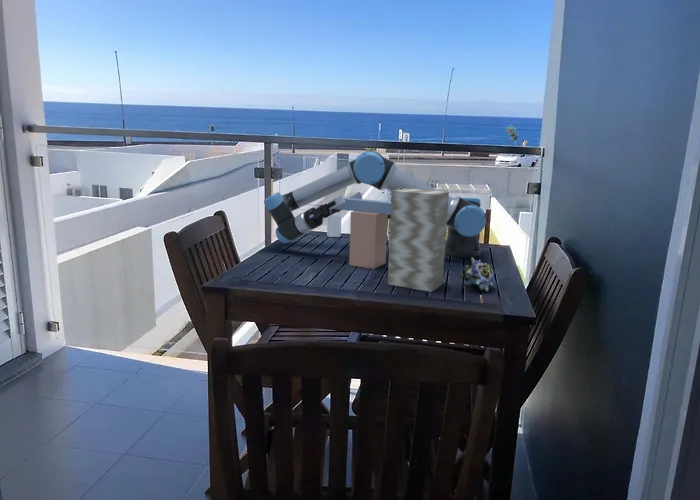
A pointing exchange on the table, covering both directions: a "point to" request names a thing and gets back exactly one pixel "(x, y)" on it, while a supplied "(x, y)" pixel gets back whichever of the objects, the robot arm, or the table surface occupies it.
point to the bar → (365, 206)
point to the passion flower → (479, 274)
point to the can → (334, 225)
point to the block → (368, 239)
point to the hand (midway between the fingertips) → (352, 196)
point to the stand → (417, 238)
